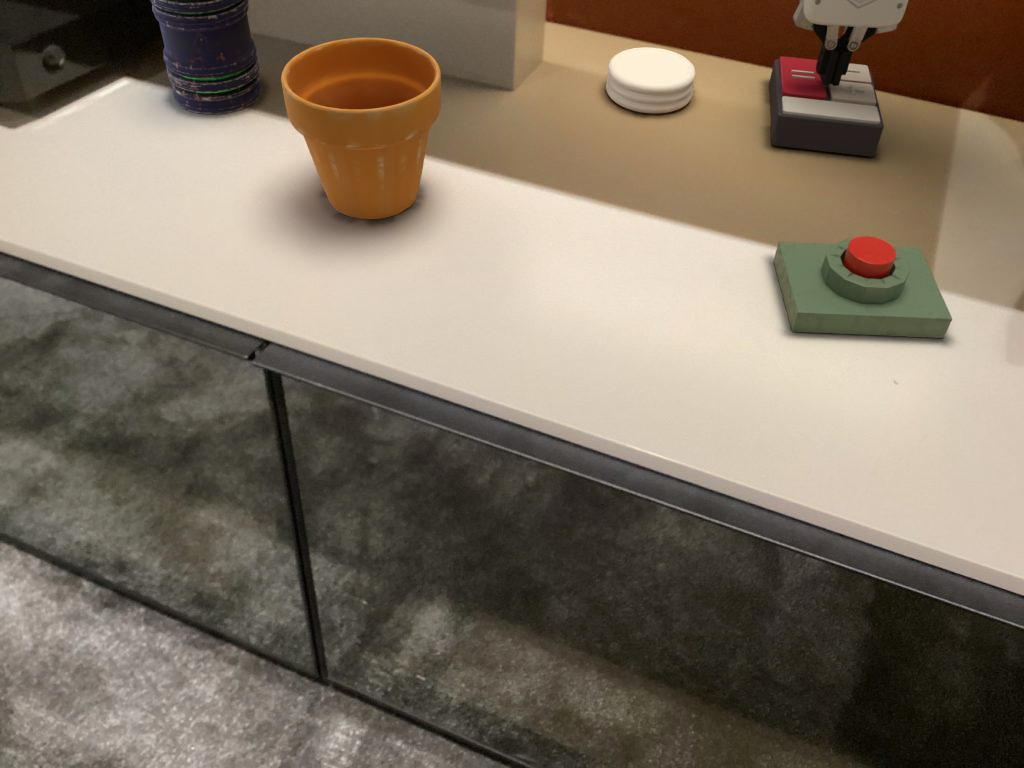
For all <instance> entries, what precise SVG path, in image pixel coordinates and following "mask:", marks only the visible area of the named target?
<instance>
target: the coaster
mask: <svg viewBox="0 0 1024 768" xmlns="http://www.w3.org/2000/svg"><path fill="white" fill-rule="evenodd" d="M696 76H697V73H696V68H695V66H694V65H693V63H692V62H691V61H690V60H689V59H688V58H687V57H685V56H683V55H682V54H679V53H678V52H675V51H672V50H669V49H665V48H660V47H647V46H645V47H634V48H628V49H625V50H622V51H620V52H618V53H617V54H615V55H614V56H613V57H612V58H610V60H609V62H608V66H607V75H606V80H607V81H606V84H605V88H606V92H607V95H608V97H609V98H610V99H611V100H612V101H613V102H614V103H616V104H617V105H619V106H620V107H622V108H625V109H627V110H630V111H633V112H636V113H641V114H642V113H643V114H654V115H655V114H667V113H672V112H674V111H677V110H680V109H682V108H684V107H686V105H688V104H689V102H690V101H691V99H692V97H693V93H694V92H693V90H694V88H695V79H696Z"/></svg>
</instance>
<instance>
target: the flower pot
mask: <svg viewBox="0 0 1024 768" xmlns="http://www.w3.org/2000/svg"><path fill="white" fill-rule="evenodd" d="M441 78H442V73H441V68H440V66H439V64H438V62H437V60H436V59H435V58H434V57H433V56H432V55H431V54H430V53H428V52H427V51H425V50H423V49H422V48H420V47H418V46H416V45H414V44H411V43H407V42H404V41H400V40H395V39H389V38H382V37H352V38H344V39H337V40H332V41H328V42H324V43H321V44H318V45H314V46H311V47H309V48H307V49H305V50H303V51H301V52H299V53H298V54H296V55H295V56H293V57H292V58H291V59H290V60H289V61H288V62H287V63H286V64H285V66H284V68H283V70H282V72H281V76H280V81H281V82H280V83H281V88H282V93H283V99H284V104H285V109H286V114H287V117H288V120H289V122H290V124H291V125H292V127H293V128H294V129H295V130H296V131H297V133H299V134H300V135H301V136H303V138H304V141H305V143H306V147H307V149H308V151H309V154H310V157H311V159H312V163H313V164H314V167H315V170H316V173H317V176H318V178H319V180H320V183H321V185H322V187H323V189H324V190H323V191H324V193H325V195H326V196H327V199H328V202H329V203H330V205H331V206H332V208H334V209H335V210H336V211H337V212H338V213H340V214H343V215H345V216H348V217H351V218H353V219H354V218H355V219H361V220H379V219H385V218H386V219H387V218H389V217H393V216H396V215H398V214H401V213H402V212H403V211H405V210H406V209H409V208H411V206H412V205H413V204H414V203H415V202H416V199H417V197H418V195H419V190H420V189H419V188H420V184H421V179H422V173H423V168H424V164H425V157H426V152H427V146H428V140H429V134H430V128H431V127H432V126H433V125H434V124H435V123H436V122H437V120H438V118H439V115H440V112H441V104H442V79H441Z"/></svg>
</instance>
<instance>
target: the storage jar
mask: <svg viewBox="0 0 1024 768" xmlns="http://www.w3.org/2000/svg"><path fill="white" fill-rule="evenodd" d="M150 2H151V5H152V6H151V9H152V12H153V14H154V17H155V19H156V20H157V21H158V23H159V28H160V33H161V36H162V41H163V45H164V48H163V50H162V51H163V52H162V53H163V62H164V63H165V65H166V66H165V68H166V72H167V77H168V80H169V82H170V85H171V87H172V89H173V97H174V102H175V103H176V104H177V105H178V106H179V107H180V108H181V109H184V110H185V111H187V112H190V113H191V112H192V113H195V114H202V115H222V114H229V113H233V112H237V111H241V110H243V109H245V108H248V107H250V106H251V105H253V104H254V103H256V102H257V101H258V100H259V99H260V97H261V95H262V92H263V87H262V83H261V80H260V76H261V75H260V62H259V57H258V55H257V53H258V49H257V46H256V43H255V40H254V39H253V38H252V36H251V35H252V34H251V28H250V23H249V22H250V21H249V17H248V12H249V0H150Z"/></svg>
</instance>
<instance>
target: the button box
mask: <svg viewBox="0 0 1024 768" xmlns="http://www.w3.org/2000/svg"><path fill="white" fill-rule="evenodd" d="M852 239H853V238H845V239H843V240H840V241H838V242H834V243H819V242H818V243H816V242H798V241H797V242H795V241H794V242H793V241H778V242H777V246H776V249H775V254H774V257H773V264H774V268H775V271H776V275H777V279H778V283H779V286H780V291H781V294H782V299H783V302H784V305H785V309H786V313H787V317H788V321H789V326H790V329H791V332H793V333H815V334H835V335H836V334H838V335H857V336H858V335H860V336H861V335H863V336H884V337H885V336H886V337H907V338H909V337H910V338H930V339H931V338H933V339H945V336H946V334H947V333H948V330H949V327H950V325H951V323H952V321H953V317H952V315H951V312H950V311H949V308H948V306H947V304H946V301H945V299H944V297H943V295H942V293H941V291H940V288H939V286H938V284H937V281H936V279H935V277H934V275H933V272H932V271H931V268H930V266H929V263H928V262H927V259H926V257H925V255H924V253H923V250H922V248H921V247H915V246H914V247H912V246H892V247H893V248H894V249H895V251H896V258H895V261H894V263H893V266H892V268H891V271H890V273H889V275H888V276H887V277H885V278H883V279H867V278H864V277H861V276H858V275H855V274H853V273H851V272H850V271H849V270H848V269H847V268H845V267H844V264H843V259H844V256H845V253H846V250H847V247H848V244H849V242H850V241H851V240H852Z"/></svg>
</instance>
